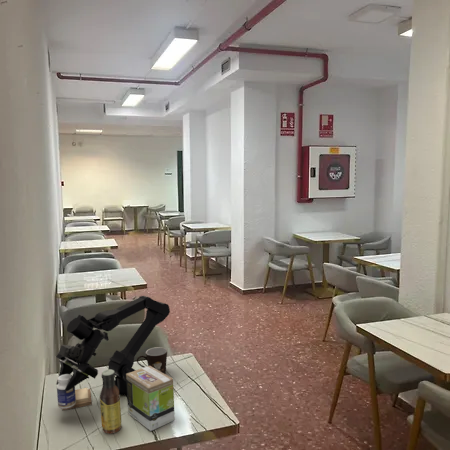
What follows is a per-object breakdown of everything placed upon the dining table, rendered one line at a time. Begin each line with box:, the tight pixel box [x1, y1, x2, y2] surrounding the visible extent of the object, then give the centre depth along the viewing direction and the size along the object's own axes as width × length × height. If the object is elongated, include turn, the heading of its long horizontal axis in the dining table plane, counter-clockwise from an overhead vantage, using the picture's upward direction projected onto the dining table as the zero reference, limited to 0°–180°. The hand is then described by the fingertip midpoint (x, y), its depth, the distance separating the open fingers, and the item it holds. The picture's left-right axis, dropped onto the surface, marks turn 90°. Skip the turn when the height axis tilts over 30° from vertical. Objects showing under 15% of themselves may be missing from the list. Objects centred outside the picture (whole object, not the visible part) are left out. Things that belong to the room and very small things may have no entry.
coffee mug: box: [136, 346, 168, 375], centre depth 179 cm, size 12×9×10 cm
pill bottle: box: [56, 373, 76, 409], centre depth 148 cm, size 6×6×10 cm
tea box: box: [126, 365, 176, 432], centre depth 147 cm, size 15×10×15 cm
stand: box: [61, 387, 93, 411], centre depth 160 cm, size 10×10×2 cm
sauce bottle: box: [99, 368, 122, 435], centre depth 140 cm, size 7×6×20 cm
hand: (61, 387), depth 146 cm, fingers closed on pill bottle, 6 cm apart
